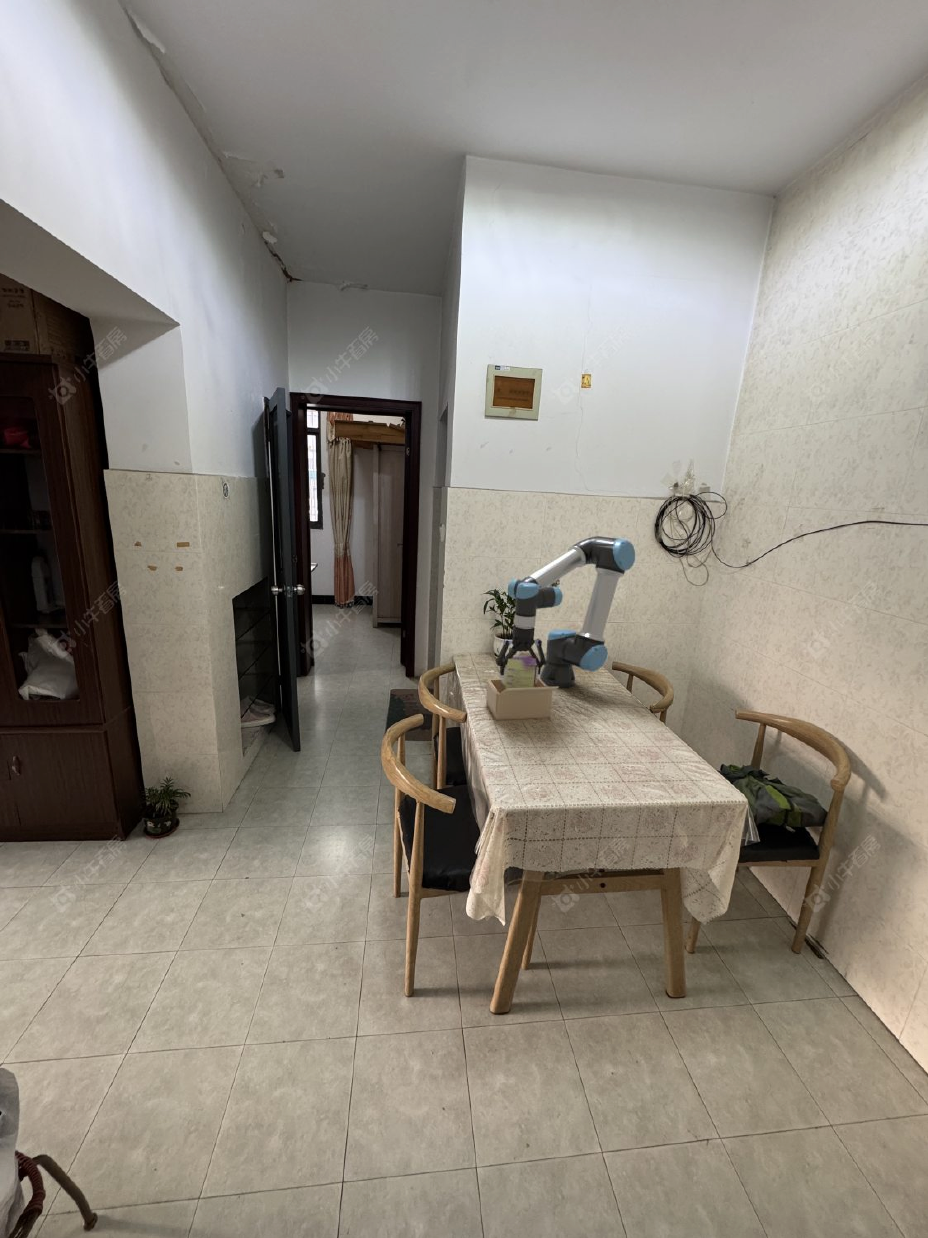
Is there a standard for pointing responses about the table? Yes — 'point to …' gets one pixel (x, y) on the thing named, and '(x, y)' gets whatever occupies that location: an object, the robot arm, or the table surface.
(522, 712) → the carton
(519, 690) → the flap
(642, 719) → the table surface
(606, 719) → the table surface
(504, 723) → the table surface
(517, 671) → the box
